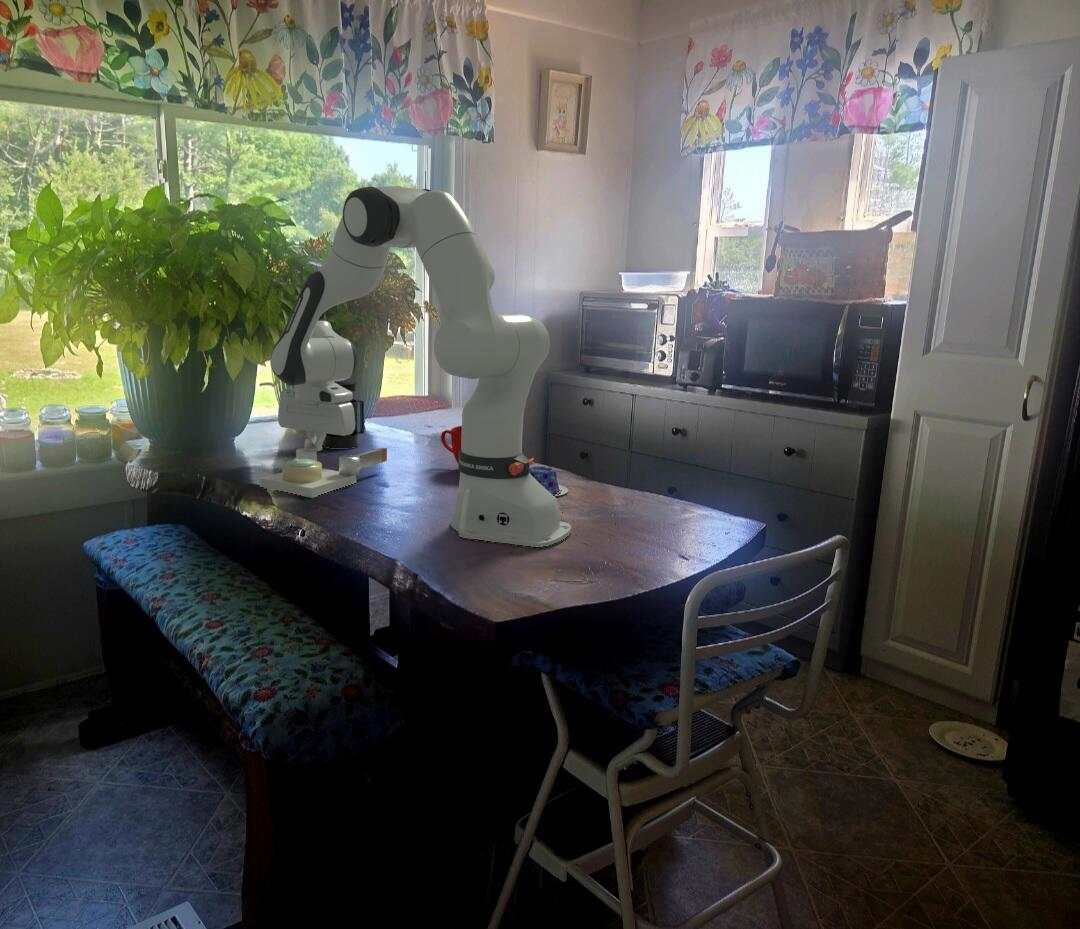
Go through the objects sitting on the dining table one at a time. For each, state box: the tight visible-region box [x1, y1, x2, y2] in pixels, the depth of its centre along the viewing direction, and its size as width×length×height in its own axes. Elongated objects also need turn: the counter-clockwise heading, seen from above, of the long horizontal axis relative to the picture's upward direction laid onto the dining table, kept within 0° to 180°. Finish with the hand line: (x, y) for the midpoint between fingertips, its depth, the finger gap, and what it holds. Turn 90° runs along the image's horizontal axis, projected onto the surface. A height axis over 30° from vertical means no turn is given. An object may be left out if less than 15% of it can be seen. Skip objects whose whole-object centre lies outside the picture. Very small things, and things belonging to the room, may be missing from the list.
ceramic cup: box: [440, 425, 462, 464], centre depth 191 cm, size 13×17×10 cm
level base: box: [259, 457, 357, 499], centre depth 172 cm, size 14×14×6 cm
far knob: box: [295, 438, 318, 461], centre depth 185 cm, size 15×4×4 cm, turn 14°
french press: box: [322, 379, 365, 448], centre depth 210 cm, size 12×9×23 cm
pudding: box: [529, 466, 569, 497], centre depth 176 cm, size 12×12×5 cm
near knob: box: [338, 447, 388, 476], centre depth 179 cm, size 15×4×4 cm, turn 154°
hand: (316, 450), depth 189 cm, fingers closed
